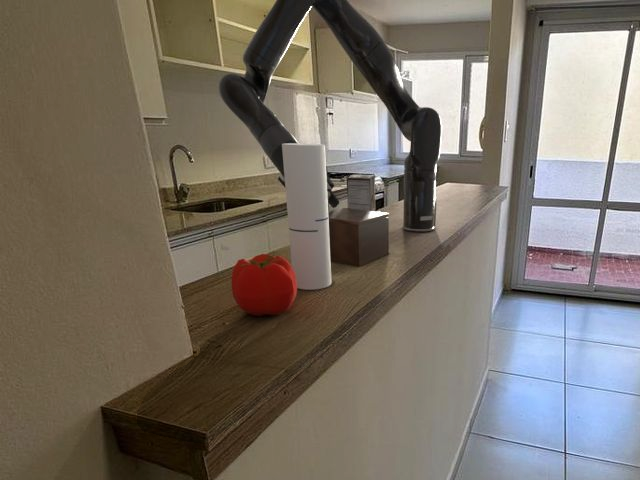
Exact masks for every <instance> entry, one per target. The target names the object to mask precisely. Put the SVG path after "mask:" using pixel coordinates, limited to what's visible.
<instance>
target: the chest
mask: <svg viewBox="0 0 640 480" xmlns="http://www.w3.org/2000/svg"><path fill="white" fill-rule="evenodd" d="M389 231H390V217H386V218H383V219H379V220H376V221H373V222H369V223H366V224H363V225H359V226H357V225H350V224H343V223H335V222H329V239H330V260H331V262H334V263H339V264H344V265H349V266H356V267H361V266H363V265H366V264H368V263H370V262H373V261H375V260H377V259H381V258H382V257H384V256H386V255H389V254H390V248H389V247H390V246H389V245H390V242H389V241H390V238H389V237H390V234H389V233H390V232H389Z"/></svg>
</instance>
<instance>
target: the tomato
mask: <svg viewBox="0 0 640 480" xmlns="http://www.w3.org/2000/svg"><path fill="white" fill-rule="evenodd" d="M230 279H231V284H230V285H231V286H230V287H231V292H232V296H233V299H234V301H235V303H236V304H237V305H238V306H239V308H240V309H241V310H242V311H243V312H246V313H248V314H250V315H251V316H255V317H257V316H258V317H262V316H265V315H269V316H278V315H280V314H282V313H284V312H286V311H288V310H289V309H290V308H292V305H293V302H294V301H295V299H296V296H297V293H298V288H297V281H296V276H295V274H294V271H293V269H292V264H291V263H290V262H289V261H288V259H287V258H285V257H283V256H280V255H276V256H275V257H274V254H273V255H271V254H265V253H261V254H258V255H255V256H253V257H252V258H250V259H247V258H240V259H238V260H237V261H236V263H235V265H234V266H233V269H232V274H231V278H230Z"/></svg>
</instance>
